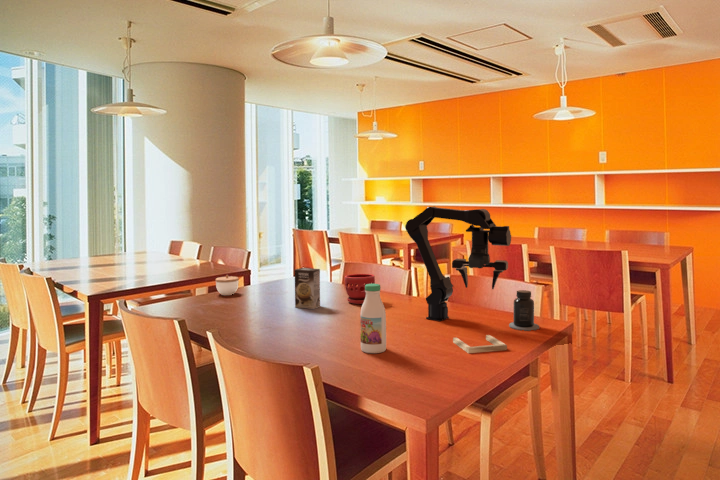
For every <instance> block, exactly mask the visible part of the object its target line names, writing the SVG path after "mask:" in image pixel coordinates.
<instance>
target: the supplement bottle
mask: <svg viewBox="0 0 720 480" xmlns="http://www.w3.org/2000/svg"><path fill="white" fill-rule="evenodd" d="M513 322H514V325H515V326H518V327H532V326H533V325H534V323H535V300H533V299H532V291H531V290H523V289H520V290H516V298H515V299H514V300H513Z"/></svg>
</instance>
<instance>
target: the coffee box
mask: <svg viewBox="0 0 720 480" xmlns="http://www.w3.org/2000/svg"><path fill="white" fill-rule="evenodd" d="M294 305H295V306H294V307H295V308H300V309H308V310H309V309H310V310H311V309H312V310H314V309H316V308H318V307H321V269H320V268H310V267H309V268H307V267H300V268H296V269H294Z"/></svg>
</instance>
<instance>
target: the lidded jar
mask: <svg viewBox="0 0 720 480" xmlns="http://www.w3.org/2000/svg"><path fill="white" fill-rule="evenodd" d="M215 287H216V290H217V292H218V293H219V294H220V295H221V296H232V294H233V295H235V293H236V292H237V290H238V288H239V277H238V276H232V275H231V276H229V274H226V275H225V276H220V277H219V276H218V277H217V278H215Z"/></svg>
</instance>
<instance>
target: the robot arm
mask: <svg viewBox="0 0 720 480" xmlns="http://www.w3.org/2000/svg"><path fill="white" fill-rule="evenodd" d="M434 219H445V220H453V221H454V220H455V221H461V222H464V223H466V224H469V226H468V228H467V229H465V232H467V233H471V249H470V250H471V252H470V255H469V257H468V258H455V259H453V260H452V262H451V268H452V269H455V271H457V272H459V273H460V275H461V277H462V280H463V283H464V285H465V288H467V289H468V286H469V278H468V268H469V269H474V268H475V269H483V268H493V269H494V270H493V271H492V274H493V275H492V283H491V290H494V289H495V286H496V283H497V281H498V278H499V276H500V275H501V274H502V273H503V272H504V271H506V270H509V269H508V268H509V262H508V260H501V259H496V260H495V261H494V262H493V261H492V262H491V256H490V254H489V243H490V244H491V245H492V246H498V247H499V246H501V247H502V246H503V247H509V246H510V245H511V242H512V234H511V233H512V232H511V230H510V226H509V225H504V226H503V225H502V226H501V225H499V226H498V225H496V224H495V222H494V221H493V220H492V218H491V213H490V211H488V209H485V208H479V209H478V208H477V209H467V210H466V209H465V210H463V209H455V208H446V207H445V208H444V207H438V206H427V207H426V208H425V209H424V210H423V211H422V212H421V213H419V214H417V215H416V216H414V217H413V218H411V219H408V220H407V222H406V223H405V226H404V227H405V230H406V232H407V234H408V236H409V237H410V239H412V240H413V242H414V243H415V245H416V246H417V249H418V251H419V253H420V256H421V259H422V261H423V263H424V266H425V269H426V271H427V275H429V279H430V280H429V281H430V282H429V285H430V287H429V288H430V291H431V293H430V294H428V296H426V297H425V301H426V304H427V305H428V307H427V309H428V310H427V313H428V316H426V317H425V319H427V320H431V321H437V322H442V321H445V320H448V319H449V318H450V316H449V307H448V301H449V299H450V297H451V296H452V295H453V292H454V288H453V287H454V284H452V281H451V277H450V276H447V277H446V276H445V275H444V274H443V273H442V270H441V268H440V265H439V263H438V260H437V258H436V255H435V254H434V251H433V248H432V246H431V243H430V240H429V230H428V227H427V226H429V225H430V224H431V223H432V222H433V220H434ZM467 259H468V260H467Z"/></svg>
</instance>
